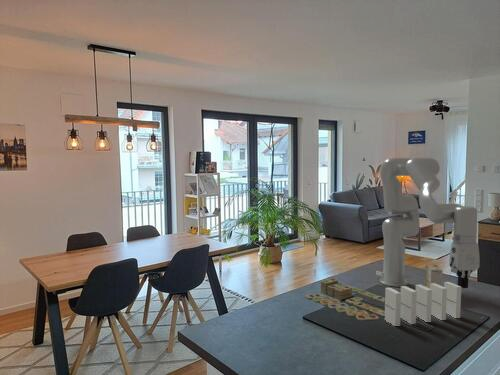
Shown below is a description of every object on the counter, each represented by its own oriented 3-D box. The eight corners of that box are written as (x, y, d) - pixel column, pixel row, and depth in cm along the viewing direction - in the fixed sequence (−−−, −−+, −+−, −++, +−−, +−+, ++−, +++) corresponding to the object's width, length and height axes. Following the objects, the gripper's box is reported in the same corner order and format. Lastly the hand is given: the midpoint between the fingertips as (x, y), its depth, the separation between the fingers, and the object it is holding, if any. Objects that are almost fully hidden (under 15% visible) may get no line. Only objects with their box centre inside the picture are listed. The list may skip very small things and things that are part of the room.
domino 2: (410, 325, 131) (411, 291, 130) (399, 318, 137) (400, 286, 136) (415, 324, 131) (416, 291, 131) (404, 317, 137) (405, 286, 136)
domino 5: (455, 319, 136) (456, 287, 135) (443, 312, 142) (444, 282, 141) (460, 318, 137) (461, 286, 136) (447, 312, 142) (448, 281, 142)
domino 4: (441, 321, 134) (442, 288, 133) (429, 314, 140) (430, 283, 139) (445, 320, 135) (447, 288, 134) (433, 314, 141) (434, 283, 140)
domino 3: (426, 323, 132) (427, 290, 132) (414, 316, 138) (415, 285, 138) (431, 322, 133) (432, 289, 132) (419, 315, 139) (420, 284, 138)
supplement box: (442, 300, 155) (443, 269, 154) (429, 299, 156) (430, 269, 155) (436, 293, 163) (437, 264, 162) (424, 293, 164) (425, 264, 163)
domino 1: (395, 327, 129) (395, 293, 128) (384, 320, 135) (385, 288, 134) (400, 326, 130) (401, 293, 129) (389, 319, 135) (390, 287, 135)
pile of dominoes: (301, 297, 159) (301, 285, 159) (343, 286, 174) (344, 274, 174) (368, 326, 131) (369, 311, 130) (412, 309, 146) (412, 296, 146)
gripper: (456, 242, 133) (454, 292, 134) (489, 240, 137) (487, 288, 138) (440, 238, 140) (438, 285, 141) (471, 236, 144) (470, 282, 145)
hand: (462, 286), depth 140 cm, fingers closed
